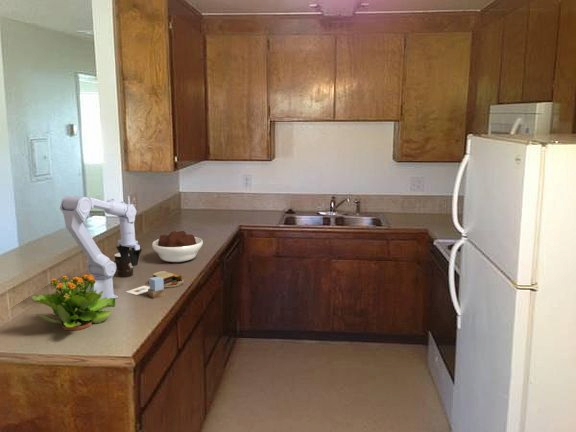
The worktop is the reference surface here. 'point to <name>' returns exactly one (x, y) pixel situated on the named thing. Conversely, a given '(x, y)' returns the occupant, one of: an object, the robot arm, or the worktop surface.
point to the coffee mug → (123, 266)
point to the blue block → (156, 283)
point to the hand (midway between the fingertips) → (130, 263)
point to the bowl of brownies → (177, 246)
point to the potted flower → (76, 303)
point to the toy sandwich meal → (169, 279)
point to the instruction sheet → (139, 290)
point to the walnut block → (156, 293)
